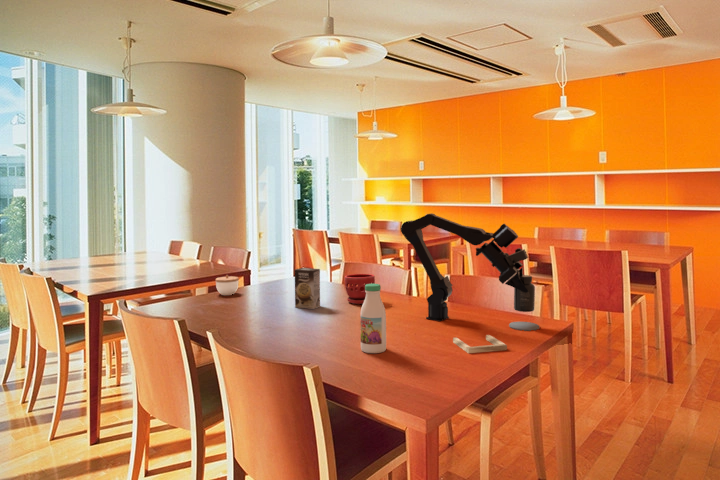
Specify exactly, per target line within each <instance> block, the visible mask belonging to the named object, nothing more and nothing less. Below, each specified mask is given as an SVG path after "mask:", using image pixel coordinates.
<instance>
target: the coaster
mask: <svg viewBox="0 0 720 480" xmlns="http://www.w3.org/2000/svg"><path fill="white" fill-rule="evenodd" d="M508 327H509V328H510V329H513V330H516V331H522V330H524V331H523V332H532V331H531V330H534V331H537V329H538V330H540V325H539V324H537V323H536V322H535V323H534V322H530V321H512V322H510V323H509V324H508Z"/></svg>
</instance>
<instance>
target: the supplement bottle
mask: <svg viewBox="0 0 720 480" xmlns="http://www.w3.org/2000/svg"><path fill="white" fill-rule="evenodd" d="M519 278H520V279H521V281H522V282H523V284H524V285H525V286H526V288H527V289H528V292H527V293H525V292H523V291H521V290H518V289H516V288H514V287H513V309H514V311H516V312H520V313H521V312H523V313H530V312H534V311H535V303H536V301H535V298H536V293H535V292H536V286H535V285H534V283H532V282H533V276H532V275H528V274H527V275H526V274H523V275H519Z"/></svg>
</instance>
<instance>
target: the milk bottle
mask: <svg viewBox="0 0 720 480" xmlns="http://www.w3.org/2000/svg"><path fill="white" fill-rule="evenodd" d="M364 285H365V284H364ZM381 287H382V286H381V284H379V283H375V284H372V283H371V284H366V285H365V292H366V297H365V300H364V303H363V304H361V305H362V306H361V308H360V316H359V317H360V329H359V330H360V350H361V351H362V352H363V353H366V354H380V353H384V352H385V351H386V349H387V315H386V313H387V312H386V308H385V305H384V302H383V301H382V298H381V289H382V288H381Z"/></svg>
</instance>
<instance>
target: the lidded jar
mask: <svg viewBox="0 0 720 480" xmlns="http://www.w3.org/2000/svg"><path fill="white" fill-rule="evenodd" d="M215 287H216V290H217V292H218V293H219V294H220V295H221V296H232V294H233V295H235V293H236V292H237V290H238V288H239V277H238V276H232V275H231V276H229V274H226V275H225V276H220V277H219V276H218V277H217V278H215Z"/></svg>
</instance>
